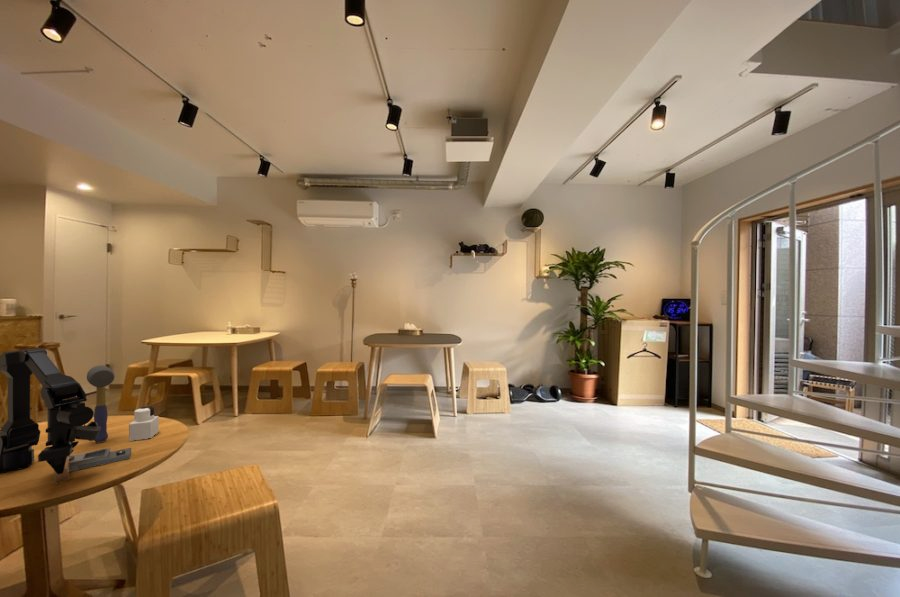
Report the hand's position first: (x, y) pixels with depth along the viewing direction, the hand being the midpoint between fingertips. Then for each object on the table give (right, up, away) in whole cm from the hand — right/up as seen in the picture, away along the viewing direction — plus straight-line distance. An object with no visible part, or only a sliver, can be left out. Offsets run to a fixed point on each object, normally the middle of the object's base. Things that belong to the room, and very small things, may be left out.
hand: (61, 471), depth 106 cm
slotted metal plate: (-2, -3, +12) cm, 12 cm away
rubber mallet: (-17, -3, +28) cm, 33 cm away
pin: (0, -3, 0) cm, 3 cm away
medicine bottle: (-4, -3, +33) cm, 33 cm away
